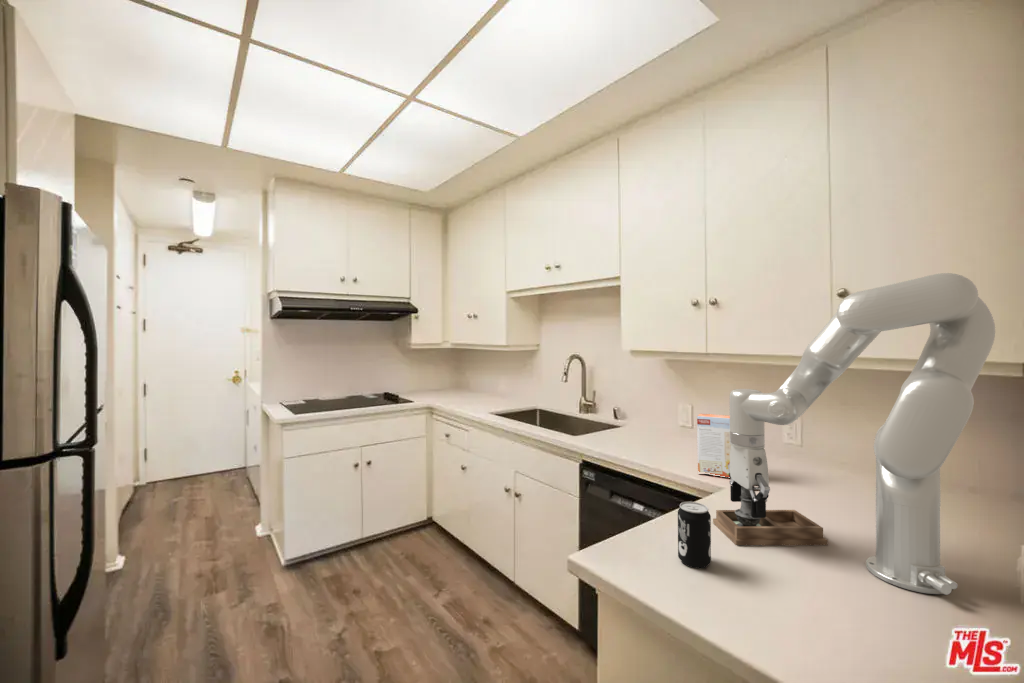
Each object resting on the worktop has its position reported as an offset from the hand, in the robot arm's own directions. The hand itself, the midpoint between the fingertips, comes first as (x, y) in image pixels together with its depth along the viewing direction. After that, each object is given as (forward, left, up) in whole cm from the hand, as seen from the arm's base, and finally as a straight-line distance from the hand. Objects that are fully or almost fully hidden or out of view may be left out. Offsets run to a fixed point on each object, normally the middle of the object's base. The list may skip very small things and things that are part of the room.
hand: (747, 508), depth 105 cm
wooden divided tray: (0, -5, -6) cm, 8 cm away
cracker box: (+44, -14, -6) cm, 47 cm away
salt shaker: (0, 0, -5) cm, 5 cm away
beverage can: (-13, +18, -6) cm, 23 cm away
